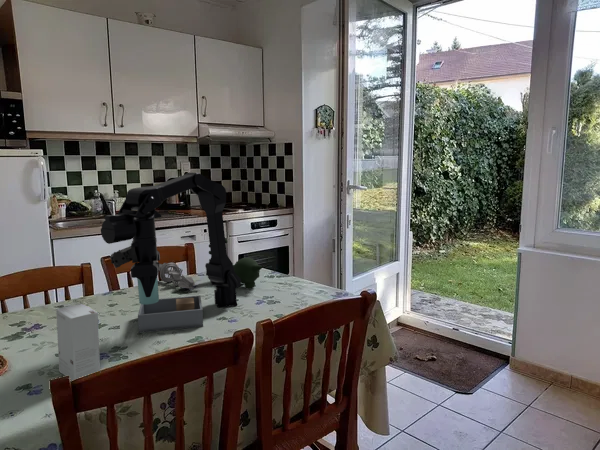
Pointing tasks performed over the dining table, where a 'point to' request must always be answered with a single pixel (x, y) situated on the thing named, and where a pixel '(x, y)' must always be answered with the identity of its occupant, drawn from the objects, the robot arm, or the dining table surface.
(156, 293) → the teal capsule
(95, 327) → the skincare box
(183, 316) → the tote
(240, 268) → the toy figurine
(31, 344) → the dining table surface
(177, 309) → the walnut block
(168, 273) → the spaceship
